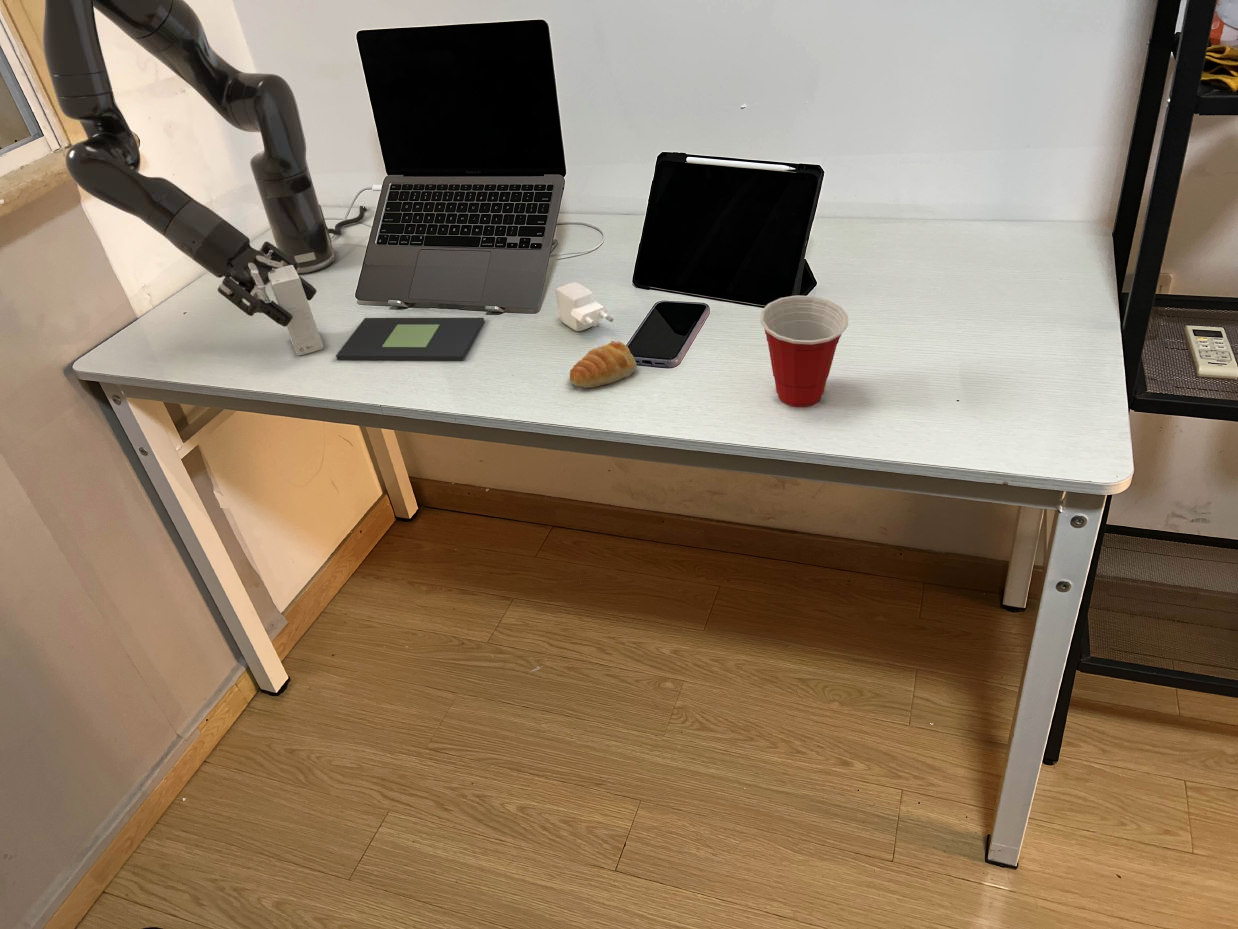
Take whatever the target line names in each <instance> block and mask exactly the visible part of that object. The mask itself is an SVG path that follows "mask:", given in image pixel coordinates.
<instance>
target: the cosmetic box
mask: <svg viewBox="0 0 1238 929" xmlns="http://www.w3.org/2000/svg"><path fill="white" fill-rule="evenodd" d="M298 275H299V274H297V272H296V270H295V268H294V266H293V265H289V266H285V267H282V268H278V269H273V270H271V271H270V272H269V273H268V278H269V281H270V282H269V284H270V288H271V290H272V292H273V295H274V297H275V301H276V304H278V305H279V306H280V307H282V308H283V309H285V310H286V311H287V312H289V313H290V314H291V315H292V316H293V318H292V320H291V321H290V323H289V324H288V325H287V326H286V331H287V333H288V336H289V339H290V341H291V344H292V347H293V349H294V351H295V353H296V355H297V356H304V355H308V354H311V353H314V352H318V351H321V350H323V349H324V344H323V341H322V338H321V335H320V332H319V330H318V327H317V324H316V321H315V318H314V315H313V313H312V310H311V307H310V303H309V300H307V298H306V295H305V292H304V289H303V287H302V284H301V280H300V277H301V276H300V275H299V276H300V277H299V276H298Z"/></svg>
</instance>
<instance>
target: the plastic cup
mask: <svg viewBox="0 0 1238 929" xmlns="http://www.w3.org/2000/svg"><path fill="white" fill-rule="evenodd" d="M759 321H760V324H761V326H762V327H763V329H764V333H765V337H766V341H767V344H768V351H769V359H770V365H771V370H772V371H771V372H772V376H773V378H774V384H775V390H776V394H777V397H778V399H779V400H780V402H781V403H783V404H784V405H787V406H790V407H794V408H806V407H812V406H813V405H816V404H818V403H820V400H821V399H822V397H823V395H824V393H825V388H826V384H827V380H828V378H829V376H830V371H831V367H832V364H833V360H834V357H835V353H836V350H837V347H838V344H839V341H840V338H841V337H842V334H843V333H844V332H845V331H846V330H847V328H848V326H849V315H848V314H847V312H846V311H845V310H844V309H843V308H842V306H840V305H839V304H837V303H835V302H833V301H831V300H829V299H826V298H822V297H818V296H815V295H790V296H785V297H779V298H777V299H775V300H773V301H770V302H769V303H767V304H766V305H765V306H764V307H763V309H762V310H761V311H760V320H759Z"/></svg>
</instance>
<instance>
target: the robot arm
mask: <svg viewBox="0 0 1238 929" xmlns="http://www.w3.org/2000/svg"><path fill="white" fill-rule="evenodd" d="M95 10H97V11H98V12H99V13H100V14H102V15H103V16H104V17H105V18H107V19H108V20H109V21H110V22H112V23H113V24H114V25H115V26H116V27H118V28H119V29H120V30H121V31H122V32H123V33H124V34H125V35H126V36H128V38H130V39H131V40H133V41H134V42H135V43H137V44H138V45H139V46H140V47H141V48H143V49H144V50H145V51H146V52H147V53H149V54H150V55H152V57H155V58H156V59H157V60H158V61H159V62H161V63H162V64H163V65H165V67H166V68H168V69H169V70H170V71H172V72H173V73H174V74H175V75H176V76H178V77H179V78H180V79H182V80H183V81H184V82H185V83H187V84H188V85H189V86H190V87H192V89H194V90H195V91H196V92H197V93H198V94H199V95H200V96H201V97H202V98H203V99H204V100H205V102H207V104H209V105H210V106H211V107H212V108H213V109H214V110H215V112H217V114H218V115H220V117H222V119H224V120H225V121H226V122H227V123H228V124H229V125H231V126H232V127H234V128H235V129H238V130H240V131H242V132H246V133H247V132H248V133H259V134H260V135H261V136H260V137H261V140H262V143H263V151H260V152H258V153H256V154H254V155H253V156H252V157H251V159H250V160H249V161H250V162H249V165H250V169H251V172H252V175H253V179H254V181H255V184H256V187H257V191H258V193H259V197H260V200H261V202H262V206H263V208H264V212H265V215H266V218H267V221H268V224H269V227H270V231H271V234H272V236H273V240H274V242H275V245H274V244H273V243H271V242H269V241H264V242H263V243H262V245H261V246H260V248H259V250H258V249H256V248H253V247H252V246H251V239H250V238H249V237H248V236H247V235H246V234H244V233H243V232H242V231H240V230H239V229H238V228H236V227H235V226H234V225H232V224H231V223H230V222H229V221H227V220H226V219H225V218H223V217H222V216H220V215H219V214H218V213H216V212H215V211H214V210H213V209H211V208H209V207H208V206H206V205H205V204H203V203H201V202H200V201H198V200H196V199H195V198H194V197H192V196H191V195H190V194H188V193H187V192H186V191H184V190H183V189H182V188H180V187H179V186H178V185H176V184H175V183H173V182H172V181H170V180H168V179H167V178H165V177H162V176H147V175H144V174H142V173H140V169H141V163H142V162H141V161H142V160H141V153H140V152H141V151H140V148H139V145H138V142H137V140H136V138H135V136H134V133H133V132H132V130H131V128H130V126H129V124H128V122H127V120H126V118H125V116H124V114H123V112H122V110H121V109H120V107H119V106H118V104H117V101H116V98H115V94H114V91H113V87H112V83H111V80H110V74H109V72H108V68H107V65H106V61H105V58H104V54H103V49H102V46H101V41H100V37H99V32H98V27H97V26H98V25H97V22H96V14H95ZM42 47H43V48H42V49H43V55H44V61H45V65H46V69H47V71H48V75H49V78H50V81H51V86H52V87H53V88H52V89H53V92H54V94H55V98H56V101H57V103H58V106H59V109H60V111H61V112H62V114H63V115H64V116H65V117H67V118H69V119H71V120H75V121H79V123H80V125H81V127H82V129H83V131H84V133H85V136H86V139H83V140H81V141H79V142H76V143H75V144H73V145H72V146H71V147H69V148H68V150H67V151H66V154H65V158H64V159H65V161H64V162H65V167H66V170H67V172H68V174H69V176H70V178H72V180H73V181H74V182H75V184H77V186H79V187H80V188H81V189H82V190H83V191H85V192H86V193H87V194H88V195H90V196H92V197H94V198H96V199H98V200H99V201H101V202H103V203H106V204H107V205H110V206H111V207H114V208H115V209H118V210H120V211H122V212H125V213H126V214H129V215H132V216H134V217H136V218H138V219H139V220H141V221H142V222H144V223H145V224H146V225H147V226H149V228H152V229H153V230H154V231H155V232H157V233H159V234H160V235H161V236H163V237H164V238H165V239H166V240H168V241H169V243H171V245H173V246H174V247H175V248H176V249H177V250H179V251H180V252H182V253H183V254H184V255H185V256H187V257H188V258H190V259H191V260H192V261H194V262H195V263H197V264H198V265H199V266H200V267H202V268H204V269H205V271H207V272H209V273H210V274H211V275H213V276H214V277H215V278H218V279H221V278H223V279H222V280H221V283H220V284H219V286H218V288H217V292H218V293H219V294H220V295H221V296H223V297H224V298H226V300H228V301H229V302H230V303H232V304H233V305H234V306H236V307H237V308H238V309H240V310H241V311H242V312H244V313H245V315H247V316H248V317H253V316H254V315H255V314H258V313H259V314H264V315H265V316H267V317H268V318H269V319H271V320H272V321H274V322H275V323H276V324H277V325H280V326H282V327H284V328H285V327H286V326H287V325H288V324H289V323H290V321H291V320H292V318H293V316H292V315H291V314H290V313H289V312H287V311H286V310H285V309H283V308H282V307H280V306H279V305H278V303H277V302H275V301H274V300H271V299H270V297H269V295H268V294H267V292H266V286H267V285H268V284H270V281H269V278H268V273H269V272H270V271H271V270H274V269H278V268H282V267H285V266H289V265H293V266H294V268H295V270H296V272H297V274H298V276H299V277H300V280H301V284H302V287H303V289H304V292H305V295H306V298H307V301H311V300H312V299H314V297H315V295H316V294H317V289H316V287H314V286H313V284H311V283H310V282H308V281H307V280H306V279H305V278H304V277H302V276H301V275H299V274H308V273H312V272H317V271H320V270H322V269H325V268H326V267H328V266H330V265H331V264H332V263H333V262H334V261H335V258H336V257H335V250H334V246H333V244H332V242H333V241H332V239H331V235H334V236H339V235H341V229H340V228H342V227H345V226H348V225H352V224H355V223H358V222H360V221H361V220H362V219H363V218H364V217H365V212H366V211H367V210H368V209H367V207H366V206H364V205H363V206H364V208H363V206H361V205H360V206H359V214H358V216H356V217H353V218H349V219H346V220H342V221H339V222H338V223H336V224H335V226H334V228H331V227H330V228H329V227H328V226H327V223H326V219H325V216H324V212H323V208H322V206H321V204H320V203H319V200H318V197H317V193H316V190H315V189H316V188H315V186H314V182H313V180H312V176H311V173H310V169H309V164H308V162H307V161H308V160H307V143H306V138H305V132H304V129H303V125H302V121H301V116H300V111H299V107H298V104H297V100H296V97H295V95H294V92H293V90H292V88H291V86H290V84H289V83H288V82H287V81H286V80H285V78H283V77H281V76H280V75H278V74H275V73H262V72H261V73H260V72H244V71H242V70H239V69H238V68H236V67H234V66H233V65H231V64H230V63H229V62H228V61H226V59H224V58H223V57H222V56H221V55H219V54H218V53H217V52H216V51H215V50H214V49H213V48H212V46H211V45H210V43H209V40H208V38H207V35H206V32H205V29H204V27H203V24H202V22H201V19H200V18H199V16H198V15H197V13H196V12H195V10H194V9H193V8H192V7H191V6H190V5H189V3H187V2H186V1H185V0H44V15H43V28H42ZM244 300H245V301H246V302H247V303H249V304H247V303H246V302H244Z"/></svg>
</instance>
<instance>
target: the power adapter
mask: <svg viewBox="0 0 1238 929" xmlns="http://www.w3.org/2000/svg"><path fill="white" fill-rule="evenodd" d="M555 297H556V304H557V312H558V317H559V319H560V321H561V322H562V323H564V325H566V326H567V327H569V328H570V329H572V330H574V331H576V332H582V331H584V330H588V329H589V328H591V327H594V328H599V325H600V324H599V323H598V322H597V321H600V320H603V319H605V320H606V321H608V322H610V323H613V321H614V318H613V317H612V316H611V315H609V314H608V312H609V310H608V309H607V308H606V307H605V306H603V305H602V304H600V303H599V302H597V301H595V296H594V294H593V292H592V291H591V290H590V289H588V288H587V287H586V286H584V285H582V284H580V283H579V282H576V281H573V282H572V281H571V282H569V283H566V284H563V285H561V286H559V287H557V288H556V290H555Z"/></svg>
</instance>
